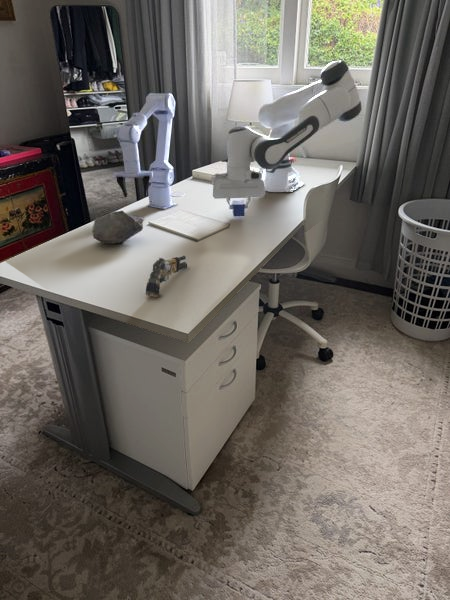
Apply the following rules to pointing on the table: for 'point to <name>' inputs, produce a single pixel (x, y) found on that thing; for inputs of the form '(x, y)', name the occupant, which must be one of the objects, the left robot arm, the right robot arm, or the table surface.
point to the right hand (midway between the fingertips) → (238, 208)
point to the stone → (116, 227)
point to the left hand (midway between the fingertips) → (135, 196)
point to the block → (238, 208)
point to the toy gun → (163, 273)
